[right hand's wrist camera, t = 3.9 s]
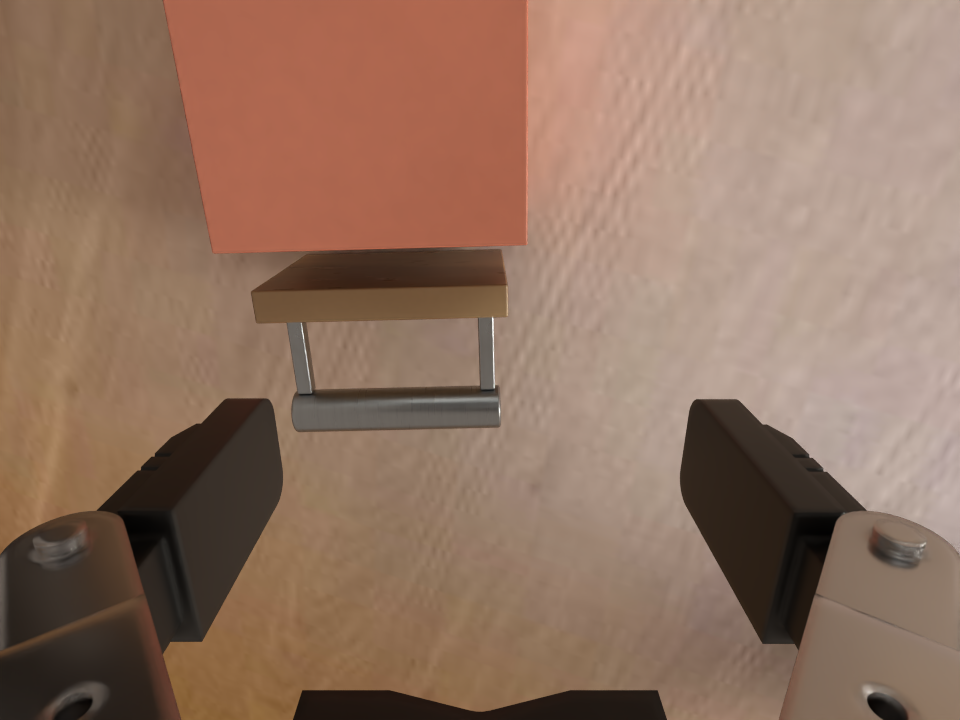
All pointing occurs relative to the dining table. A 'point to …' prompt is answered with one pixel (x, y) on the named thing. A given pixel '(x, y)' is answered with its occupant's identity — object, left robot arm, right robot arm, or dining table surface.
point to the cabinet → (356, 121)
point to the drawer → (389, 296)
